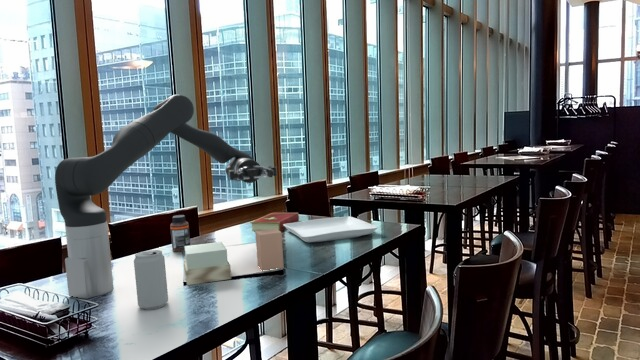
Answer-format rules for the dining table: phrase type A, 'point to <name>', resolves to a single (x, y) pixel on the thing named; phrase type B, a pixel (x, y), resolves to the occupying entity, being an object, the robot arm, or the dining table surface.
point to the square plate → (330, 229)
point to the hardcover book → (274, 221)
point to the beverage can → (151, 279)
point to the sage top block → (205, 255)
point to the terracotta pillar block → (269, 249)
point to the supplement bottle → (179, 233)
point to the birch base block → (207, 274)
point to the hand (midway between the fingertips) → (256, 175)
